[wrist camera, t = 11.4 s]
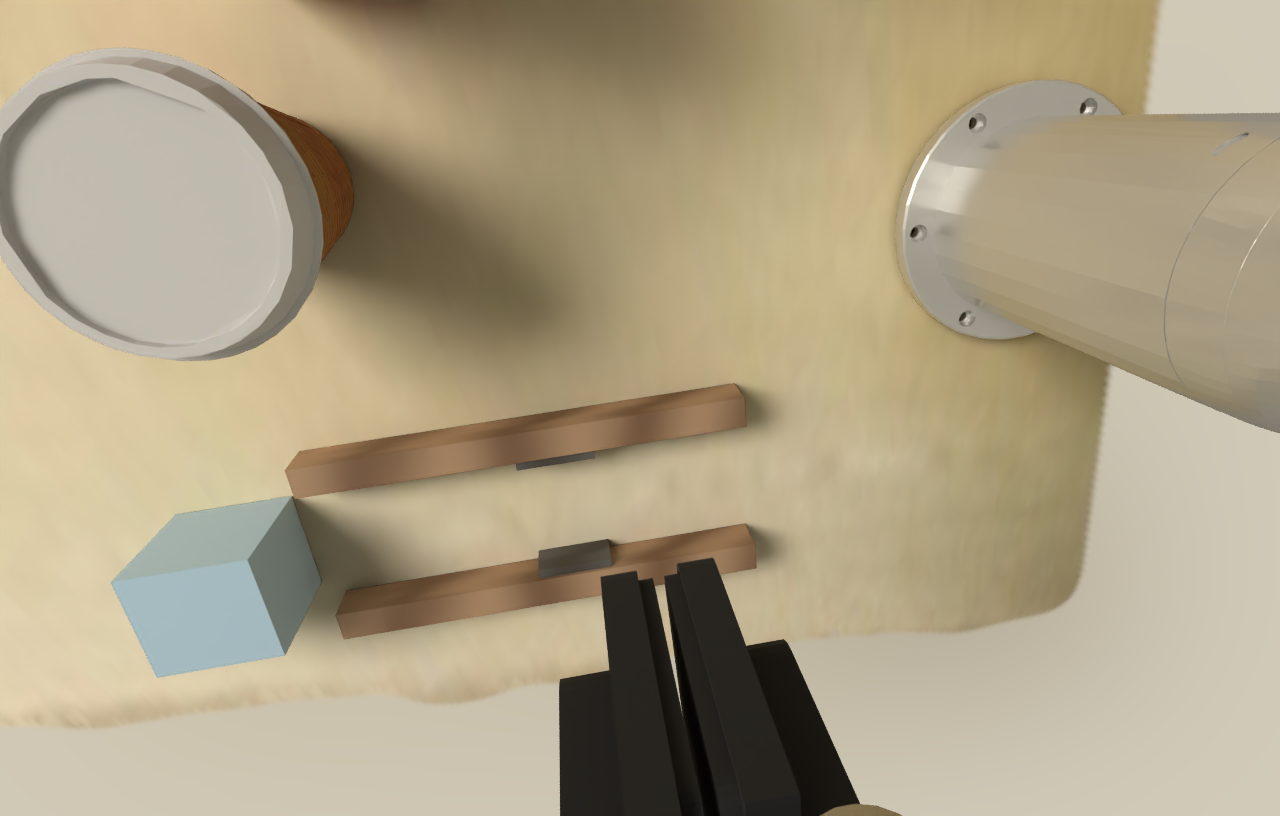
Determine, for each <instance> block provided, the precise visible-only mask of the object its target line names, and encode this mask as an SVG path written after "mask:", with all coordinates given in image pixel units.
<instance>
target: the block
mask: <svg viewBox="0 0 1280 816" xmlns="http://www.w3.org/2000/svg"><path fill="white" fill-rule="evenodd" d="M321 582H322V581H321V578H320V575H319V572H318V570H317V567H316V564H315V561H314V558H313V555H312V553H311V550H310V547H309V544H308V541H307V538H306V535H305V533H304V530H303V527H302V524H301V521H300V518H299V516H298V513H297V510H296V507H295V504H294V501H293V498H292V496H290V497H283V498H277V499H271V500H265V501H258V502H252V503H246V504H240V505H233V506H227V507H221V508H215V509H208V510H202V511H196V512H190V513H183V514H177V515H175V516H174V517H173V518H172V519H171V520H170V521H169V522H168V523H167V524H166V525H165V526H164V527H163V528H162V529H161V530H160V531H159V533H158V534H157V535H156V536H155V537H154V538H153V539H152V540H151V541H150V542H149V543H148V544H147V545H146V546H145V547H144V548H143V549H142V550H141V551H140V552H139V553H138V554H137V555H136V557H135V558H134V559H133V560H132V561H131V562H130V563H129V564H128V565H127V566H126V567H125V568H124V569H123V570H122V571H121V572H120V573H119V574H118V575H117V576H116V577H115V578H114V580H113V581H112V582H111V584H112V586H113V589H114V591H115V593H116V595H117V597H118V599H119V601H120V603H121V605H122V607H123V609H124V611H125V613H126V615H127V617H128V619H129V621H130V623H131V625H132V627H133V630H134V632H135V634H136V636H137V638H138V640H139V642H140V644H141V646H142V648H143V650H144V652H145V654H146V656H147V658H148V660H149V662H150V664H151V666H152V669H153V671H154V673H155V675H156V677H157V678H158V677H164V676H170V675H176V674H181V673H187V672H193V671H199V670H205V669H210V668H216V667H222V666H228V665H233V664H239V663H245V662H251V661H257V660H262V659H268V658H274V657H280V656H285V655H286V653H287V651H288V649H289V647H290V645H291V643H292V641H293V639H294V637H295V635H296V633H297V631H298V628H299V626H300V624H301V622H302V620H303V618H304V616H305V614H306V612H307V610H308V608H309V606H310V604H311V602H312V600H313V598H314V596H315V594H316V592H317V590H318V588H319V586H320V584H321Z"/></svg>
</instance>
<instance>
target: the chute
mask: <svg viewBox="0 0 1280 816" xmlns="http://www.w3.org/2000/svg"><path fill="white" fill-rule="evenodd" d="M740 427H746V412H745V398H744V397H743V395H742V394H741V392H740V391H739V389H738V388H737V387H736V385H735V384H727V385H721V386H714V387H708V388H702V389H695V390H689V391H682V392H676V393H670V394H663V395H657V396H650V397H644V398H638V399H631V400H625V401H618V402H612V403H606V404H599V405H593V406H586V407H580V408H574V409H567V410H561V411H555V412H548V413H542V414H535V415H529V416H523V417H516V418H510V419H503V420H497V421H491V422H484V423H478V424H471V425H465V426H459V427H452V428H446V429H439V430H433V431H427V432H420V433H414V434H407V435H401V436H395V437H388V438H382V439H375V440H369V441H363V442H356V443H350V444H343V445H337V446H331V447H324V448H318V449H312V450H305V451H299V453H298V454H297V455H296V456H295V458H294V459H293V460H292V462H291V463H290V464H289V466H288V467H287V468H286V470H285V473H286V475H287V478H288V481H289V484H290V487H291V490H292V493H293V495H294V498H295V499H297V498H303V497H310V496H316V495H322V494H328V493H335V492H341V491H347V490H353V489H360V488H366V487H372V486H378V485H385V484H391V483H397V482H403V481H409V480H416V479H422V478H428V477H434V476H441V475H447V474H453V473H459V472H466V471H472V470H478V469H484V468H491V467H497V466H503V465H509V464H516V468H517V470H523V469H530V468H536V467H542V466H548V465H555V464H561V463H567V462H573V461H579V460H586V459H592V458H594V451H597V450H603V449H609V448H615V447H622V446H628V445H634V444H640V443H647V442H653V441H659V440H665V439H672V438H678V437H684V436H690V435H697V434H703V433H709V432H715V431H721V430H728V429H734V428H740ZM712 557H713V558H714V560H715V562H716V565H717V568H718V570H719V573H720V574H726V573H731V572H737V571H743V570H749V569H755V568H757V567H756V553H755V543H754V541H753V539H752V537H751V535H750V533H749V531H748V529H747V527H746V525H745V524H740V525H734V526H728V527H722V528H716V529H711V530H705V531H699V532H693V533H687V534H681V535H675V536H669V537H663V538H657V539H651V540H645V541H639V542H633V543H628V544H622V545H616V546H610V547H609V541H608V539H606V540H600V541H595V542H589V543H583V544H577V545H571V546H565V547H559V548H553V549H547V550H541V551H539V559H533V560H527V561H521V562H515V563H509V564H503V565H497V566H491V567H485V568H479V569H473V570H467V571H461V572H455V573H450V574H444V575H438V576H432V577H426V578H420V579H414V580H408V581H402V582H396V583H390V584H384V585H378V586H372V587H366V588H361V589H355V590H349V591H346V593H345V595H344V598H343V600H342V602H341V604H340V607H339V609H338V611H337V614H336V618H337V621H338V624H339V627H340V630H341V632H342V635H343V638H344V639H349V638H355V637H361V636H366V635H372V634H378V633H384V632H390V631H395V630H401V629H407V628H413V627H419V626H424V625H430V624H436V623H442V622H447V621H453V620H459V619H465V618H471V617H476V616H482V615H488V614H494V613H500V612H505V611H511V610H517V609H523V608H529V607H534V606H540V605H546V604H552V603H558V602H563V601H569V600H575V599H581V598H587V597H592V596H598V595H602V589H601V579H600V577H601V576H607V575H613V574H619V573H624V572H630V571H636V570H637V575H638V580H643V579H649V578H653V581H654V586H656V585H662V584H665V581H664V576H667V575H672V574H677V563H683V562H689V561H694V560H700V559H706V558H712Z"/></svg>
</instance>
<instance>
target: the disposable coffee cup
mask: <svg viewBox="0 0 1280 816" xmlns="http://www.w3.org/2000/svg"><path fill="white" fill-rule="evenodd" d="M353 205H354V192H353V184H352V179H351V176H350V172H349V169H348V167H347V165H346V164H345V162H344V160H343V158H342V156H341V155H340V153H339V151H338V150H337V149H336V147H335V146H334V145H333V144H332V142H331V141H330V140H329V139H327V138H326V137H325V136H324V135H323V134H322V133H321V132H320V131H319V130H317V129H315V128H314V127H312V126H310V125H309V124H307V123H306V122H304V121H302V120H299V119H297V118H294V117H292V116H289V115H286V114H284V113H282V112H279V111H277V110H275V109H272V108H270V107H267V106H265V105H262V104H260V103H258V102H256V101H255V100H254V99H253V98H252V97H251V96H250V95H249V94H247V93H246V92H244V91H243V90H241V89H240V88H238V87H237V86H235V85H233V84H232V83H230V82H229V81H227V80H225V79H224V78H222V77H221V76H219V75H218V74H216V73H214V72H213V71H211V70H208V69H206V68H204V67H201V66H199V65H196V64H194V63H192V62H189V61H187V60H184V59H182V58H179V57H176V56H172V55H167V54H163V53H159V52H155V51H151V50H146V49H134V48H108V49H97V50H93V51H88V52H84V53H79V54H75V55H71V56H68V57H66V58H64V59H62V60H60V61H58V62H56V63H54V64H52V65H50V66H48V67H46V68H44V69H43V70H41V71H40V72H39V73H38V74H37V75H36V76H34V77H33V78H32V79H31V80H30V81H28V82H27V83H26V84H25V85H24V86H22V87H21V88H20V89H19V90H18V92H16V93H15V94H13V95H12V96H11V98H10V99H9V100H8V101H7V102H6V104H5V105H4V106H3V107H2V108H1V110H0V256H1V258H2V260H3V261H4V263H5V265H6V266H7V268H8V270H9V271H10V272H11V273H12V275H13V276H14V277H15V279H16V280H17V281H18V282H19V284H20V285H21V286H22V288H23V289H24V290H25V291H26V292H27V293H28V294H29V295H30V296H31V297H32V298H33V299H34V300H35V301H36V302H37V303H38V304H39V305H40V306H41V307H42V308H43V309H44V310H46V311H47V312H49V313H50V314H51V315H53V316H54V317H55V318H57V319H58V320H59V321H61V322H62V323H63V324H65V325H66V326H67V327H69V328H70V329H72V330H74V331H76V332H78V333H80V334H82V335H84V336H86V337H88V338H90V339H92V340H94V341H96V342H99V343H101V344H103V345H106V346H108V347H110V348H113V349H115V350H119V351H123V352H127V353H131V354H135V355H139V356H145V357H154V358H162V359H169V360H177V361H205V360H215V359H220V358H225V357H230V356H234V355H237V354H240V353H242V352H245V351H248V350H250V349H253V348H256V347H257V346H259V345H261V344H262V343H264V342H265V341H267V340H269V339H270V338H272V337H274V336H275V335H277V334H278V333H279V332H280V331H281V330H282V329H283V328H284V327H285V326H286V325H287V324H288V323H289V322H291V321H292V320H293V319H294V318H295V317H296V315H297V313H298V312H299V310H300V309H301V307H302V305H303V304H304V302H305V301H306V299H307V298H308V296H309V295H310V293H311V291H312V290H313V287H314V284H315V281H316V278H317V275H318V272H319V269H320V264H321V262H322V261H323V259H324V258H325V257H326V255H327V254H328V252H329V251H330V249H331V248H332V247H333V246H334V244H335V243H336V241H337V240H338V239H339V237H340V236H341V235H342V234H343V233H344V231H345V229H346V227H347V224H348V223H349V221H350V218H351V214H352V209H353Z"/></svg>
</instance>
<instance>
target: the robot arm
mask: <svg viewBox="0 0 1280 816" xmlns="http://www.w3.org/2000/svg"><path fill="white" fill-rule="evenodd" d="M970 119H971V121H972V124H971V126H970V127H969V121H970ZM913 228H914V230H915V231H914V233H913V235H912V236H910V233H911V230H912V229H913ZM895 243H896V251H897V259H898V264H899V267H900V270H901V273H902V276H903V279H904V282H905V284H906V286H907V287H908V289H909V291H910V292H911V294H912V296H913V297H914V299H915V301H916V302H917V303H918V304H919V305H920V306H921V307H922V308H923V309H924V310H925V311H926V312H927V313H928V314H929V315H930V316H931V317H933V318H934V319H936V320H937V321H939V322H940V323H942V324H944V325H945V326H947V327H949V328H951V329H953V330H955V331H957V332H959V333H962V334H965V335H969V336H973V337H977V338H981V339H999V340H1004V339H1011V338H1017V337H1024V336H1027V335H1030V334H1033V333H1036V332H1037V333H1040V334H1042V335H1044V336H1046V337H1049V338H1051V339H1053V340H1056V341H1058V342H1060V343H1063V344H1065V345H1067V346H1069V347H1072V348H1074V349H1076V350H1079V351H1081V352H1083V353H1086V354H1088V355H1090V356H1093V357H1095V358H1097V359H1099V360H1102V361H1104V362H1106V363H1109V364H1111V365H1113V366H1116V367H1118V368H1120V369H1123V370H1125V371H1127V372H1129V373H1132V374H1134V375H1136V376H1139V377H1141V378H1143V379H1145V380H1148V381H1150V382H1152V383H1155V384H1157V385H1159V386H1162V387H1164V388H1166V389H1169V390H1171V391H1173V392H1175V393H1178V394H1180V395H1183V396H1185V397H1187V398H1189V399H1192V400H1194V401H1197V402H1199V403H1202V404H1204V405H1206V406H1208V407H1211V408H1213V409H1215V410H1218V411H1220V412H1223V413H1226V414H1228V415H1230V416H1232V417H1235V418H1237V419H1240V420H1242V421H1244V422H1247V423H1249V424H1253V425H1255V426H1258V427H1261V428H1264V429H1267V430H1270V431H1274V432H1277V433H1280V113H1231V114H1230V113H1229V114H1151V115H1123V114H1122V113H1121V111H1120V110H1119V108H1117V107H1116V106H1115V105H1114V104H1113V103H1112V102H1110V101H1109V100H1108V99H1107V98H1106V97H1104V96H1103V95H1102V94H1100V93H1098V92H1096V91H1094V90H1092V89H1090V88H1088V87H1086V86H1084V85H1082V84H1077V83H1072V82H1068V81H1063V80H1034V81H1027V82H1020V83H1013V84H1010V85H1007V86H1004V87H1001V88H998V89H995V90H992V91H990V92H987V93H986V94H984V95H982V96H980V97H979V98H977V99H975V100H973V101H972V102H970V103H968V104H966V105H965V106H964V107H963V108H961V109H960V110H959V111H958V112H957V113H955V114H954V115H953V116H952V117H951V118H949V119H948V120H947V121H946V122H945V123H944V124H943V125H942V126H941V127H940V128H939V130H938V131H937V132H936V133H935V134H934V135H933V136H932V138H931V139H930V140H929V141H928V142H927V144H926V145H925V147H924V148H923V150H922V152H921V153H920V155H919V156H918V158H917V160H916V161H915V163H914V164H913V166H912V169H911V171H910V173H909V176H908V178H907V180H906V183H905V185H904V188H903V190H902V194H901V198H900V202H899V207H898V211H897V215H896V232H895ZM961 314H962V315H961ZM960 315H961V317H960ZM600 579H601V589H602V599H603V609H604V619H605V629H606V639H607V649H608V659H609V669H610V670H609V671H603V672H598V673H592V674H587V675H581V676H575V677H570V678H564V679H560V683H559V725H560V728H559V729H560V816H902V815H900V814H898V813H896V812H893V811H890V810H887V809H884V808H882V807H879V806H873V805H863V804H860V803H859V800H858V798H857V796H856V794H855V791H854V789H853V787H852V785H851V782H850V780H849V778H848V776H847V773H846V771H845V769H844V767H843V765H842V763H841V760H840V758H839V756H838V753H837V751H836V749H835V747H834V744H833V742H832V740H831V738H830V736H829V733H828V731H827V729H826V727H825V724H824V722H823V720H822V718H821V715H820V713H819V711H818V709H817V707H816V704H815V702H814V700H813V698H812V695H811V693H810V691H809V689H808V686H807V684H806V682H805V680H804V678H803V675H802V673H801V671H800V669H799V666H798V664H797V662H796V660H795V657H794V655H793V653H792V651H791V649H790V647H789V645H788V643H787V642H786V641H785V640H784V639H782V640H777V641H771V642H766V643H760V644H754V645H749V646H746V644H745V642H744V639H743V636H742V633H741V631H740V628H739V625H738V622H737V620H736V617H735V614H734V611H733V609H732V606H731V603H730V600H729V598H728V595H727V592H726V590H725V587H724V584H723V581H722V579H721V576H720V573H719V570H718V568H717V565H716V562H715V560H714V558H713V557H712V558H706V559H700V560H694V561H689V562H683V563H677V574H672V575H667V576H664V581H665V588H666V596H667V603H668V611H669V618H670V626H671V633H672V640H673V648H674V655H675V663H676V670H677V677H678V684H679V692H680V700H681V706H680V702H679V697H678V693H677V688H676V683H675V678H674V674H673V669H672V664H671V660H670V655H669V651H668V646H667V641H666V637H665V632H664V627H663V623H662V618H661V613H660V609H659V604H658V600H657V595H656V590H655V586H654V581H653V578H649V579H643V580H638V575H637V570H636V571H630V572H624V573H619V574H613V575H607V576H601V577H600ZM681 707H682V711H681ZM682 714H683V715H682Z"/></svg>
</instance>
